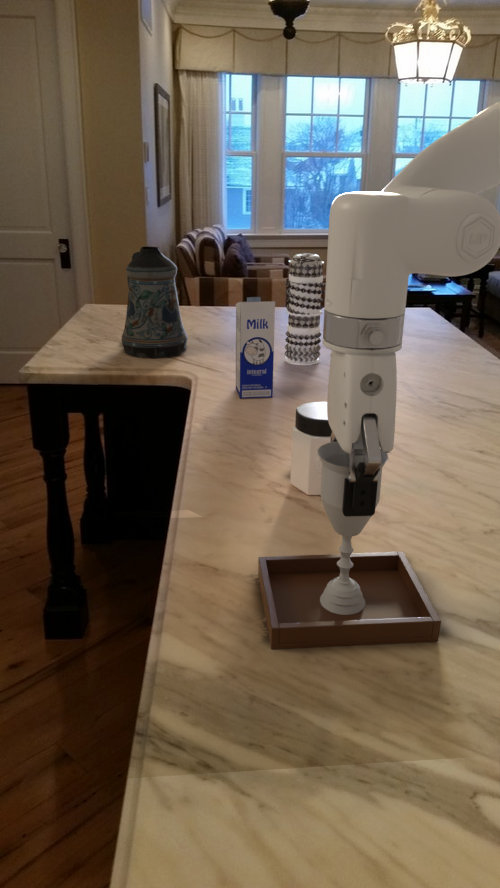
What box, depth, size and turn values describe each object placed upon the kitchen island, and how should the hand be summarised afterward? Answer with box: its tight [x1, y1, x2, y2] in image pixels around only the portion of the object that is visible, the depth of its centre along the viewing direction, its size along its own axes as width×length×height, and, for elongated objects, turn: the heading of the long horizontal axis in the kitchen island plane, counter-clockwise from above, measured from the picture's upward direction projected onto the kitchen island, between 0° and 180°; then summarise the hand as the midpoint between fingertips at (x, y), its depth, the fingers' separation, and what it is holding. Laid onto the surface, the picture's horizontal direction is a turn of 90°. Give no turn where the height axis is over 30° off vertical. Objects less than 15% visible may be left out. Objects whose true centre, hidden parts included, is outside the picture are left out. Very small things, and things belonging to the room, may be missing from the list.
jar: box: [289, 401, 332, 496], centre depth 105 cm, size 9×8×12 cm
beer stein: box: [121, 246, 189, 359], centre depth 174 cm, size 16×19×25 cm
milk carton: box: [235, 296, 276, 400], centre depth 144 cm, size 7×7×20 cm
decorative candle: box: [284, 253, 326, 366], centre depth 166 cm, size 9×9×25 cm
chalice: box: [318, 441, 389, 615], centre depth 75 cm, size 7×7×18 cm
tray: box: [257, 551, 442, 650], centre depth 79 cm, size 18×14×3 cm
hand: (350, 496), depth 74 cm, fingers closed on chalice, 6 cm apart
